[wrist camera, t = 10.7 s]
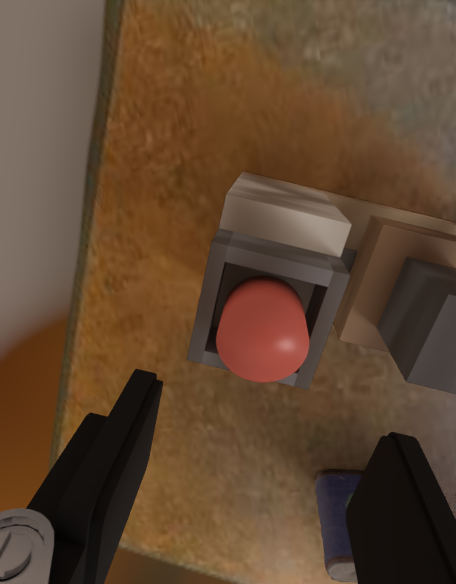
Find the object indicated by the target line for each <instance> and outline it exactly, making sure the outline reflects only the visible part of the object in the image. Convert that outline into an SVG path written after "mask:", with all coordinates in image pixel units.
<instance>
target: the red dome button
mask: <svg viewBox="0 0 456 584" xmlns="http://www.w3.org/2000/svg"><path fill="white" fill-rule="evenodd" d="M216 345H217V350H218V353H219V356H220V358H221V360H222V361H223V363H224V364H225V365H226V366H227V367H228V368H229V369H230V370H231V371H232V372H233V373H235V374H236V375H238V376H240V377H242V378H244V379H247V380H250V381H255V382H273V381H278V380H281V379H283V378H286V377H288V376H289V375H291V374H292V373H294V372H295V371H296V370H297V369H298V368H299V367H300V366H301V365H302V364H303V362H304V360H305V359H306V356H307V354H308V350H309V335H308V330H307V324H306V319H305V314H304V309H303V303H302V300H301V298H300V296H299V294H298V293H297V291H296V290H295V289H294V288H293V287H292V286H291V285H290V284H289V283H287V282H285V281H284V280H282V279H279V278H276V277H273V276H265V275H262V276H254V277H250V278H247V279H245V280H243V281H241V282H240V283H238V284H237V285H236V286H235V287H234V288H233V289H232V290H231V291H230V293H229V294H228V296H227V298H226V301H225V305H224V308H223V312H222V316H221V320H220V323H219V327H218V331H217V336H216Z"/></svg>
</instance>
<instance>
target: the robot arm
mask: <svg viewBox="0 0 456 584" xmlns="http://www.w3.org/2000/svg"><path fill="white" fill-rule="evenodd" d="M156 379H157V374H156V373H151V372H147V371H143V370H139V369H135V371H134V372H133V374H132V376H131V377H130V379H129V381H128V383H127V384H126V386H125V388H124V390H123V391H122V393H121V395H120V397H119V398H118V400H117V402H116V404H115V405H114V407H113V409H112V411H111V412H110V414H109V416H108V417H106V416H102V415H98V414H94V413H89V414H88V415H87V416H86V417H85V419H84V420H83V422H82V423H81V425H80V426H79V428H78V429H77V431H76V432H75V434H74V435H73V437H72V438H71V440H70V442H69V443H68V445H67V446H66V448H65V449H64V451H63V452H62V454H61V455H60V457H59V458H58V460H57V462H56V463H55V465H54V466H53V468H52V469H51V471H50V472H49V474H48V475H47V477H46V478H45V480H44V482H43V483H42V485H41V486H40V488H39V489H38V491H37V492H36V494H35V495H34V497H33V499H32V500H31V502H30V503H29V505H28V506H27V508H26V509H19V508H17V509H12V510H7V511H3V512H0V584H104V582H105V579H106V576H107V574H108V571H109V568H110V565H111V563H112V560H113V557H114V555H115V552H116V549H117V547H118V544H119V541H120V539H121V536H122V533H123V530H124V528H125V525H126V522H127V520H128V517H129V514H130V511H131V509H132V506H133V503H134V501H135V498H136V495H137V492H138V490H139V487H140V484H141V482H142V479H143V476H144V473H145V471H146V467H147V464H148V460H149V456H150V451H151V445H152V440H153V435H154V429H155V424H156V419H157V413H158V408H159V403H160V397H161V392H162V387H163V381H160V380H156ZM346 525H347V530H348V535H349V540H350V545H351V550H352V555H353V561H354V566H355V571H356V576H357V581H358V584H456V519H455V517H454V515H453V513H452V511H451V509H450V507H449V505H448V503H447V500H446V498H445V496H444V494H443V492H442V490H441V488H440V486H439V484H438V482H437V480H436V478H435V476H434V473H433V471H432V469H431V467H430V465H429V463H428V461H427V459H426V457H425V455H424V453H423V451H422V449H421V446H420V444H419V442H418V441H417V439H416V438H414V437H412V436H408V435H403V434H399V433H395V432H391V433H389V434H388V436H382V437H381V438H380V440H379V442H378V444H377V446H376V448H375V450H374V452H373V454H372V456H371V458H370V460H369V463H368V465H367V467H366V469H365V471H364V473H363V475H362V477H361V479H360V481H359V483H358V485H357V487H356V489H355V491H354V493H353V495H352V497H351V499H350V502H349V504H348V506H347V509H346Z"/></svg>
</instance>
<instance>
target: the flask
mask: <svg viewBox="0 0 456 584" xmlns="http://www.w3.org/2000/svg"><path fill="white" fill-rule="evenodd" d="M363 473H364V471H363V472H362V471H359V470H357V471H356V470H335V469H332V470H328V471H322V472H319V473H318V474H317V476H316V478H317V479H316V480H315V489H316V495H317V502H318V513H319V517H320V524H321V532H322V539H323V546H324V555H325V567H326V570H327V572H328V574H329V575H330V576H331V578H332V579H333V580H336V581H340V582H358V581H357V576H356V571H355V566H354V561H353V555H352V550H351V545H350V540H349V535H348V530H347V525H346V509H347V506H348V504H349V502H350V499H351V497H352V495H353V493H354V491H355V489H356V487H357V485H358V483H359V481H360V479H361V477H362V475H363Z"/></svg>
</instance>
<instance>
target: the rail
mask: <svg viewBox="0 0 456 584" xmlns="http://www.w3.org/2000/svg"><path fill="white" fill-rule="evenodd" d="M371 215H374V216H378V217H382V218H386V219H391V220H395V221H399V222H403V223H407V224H411V225H415V226H420V227H424V228H428V229H432V230H436V231H440V232H444V233H449V234H453V235H456V223H455V222H451V221H447V220H443V219H439V218H434V217H430V216H426V215H422V214H418V213H414V212H410V211H405V210H401V209H397V208H393V207H389V206H385V205H381V204H376V203H372V202H368V201H364V200H360V199H356V198H351V197H347V196H343V195H339V194H335V193H331V192H327V191H322V190H318V189H314V188H310V187H306V186H302V185H298V184H293V183H289V182H285V181H281V180H277V179H273V178H269V177H264V176H260V175H256V174H252V173H248V172H244V171H243V172H242V173H241V174H240V176H239V177H238V179H237V180H236V181H235V183H234V184H233V186H232V187H231V188H230V190H229V191H228V192H227V194H226V198H225V203H224V207H223V212H222V217H221V221H220V226H219V229H218V231H217V233H216V235H215V236H214V238H213V240H212V242H211V247H210V252H209V257H208V261H207V266H206V271H205V276H204V280H203V285H202V290H201V295H200V299H199V304H198V309H197V314H196V318H195V323H194V328H193V333H192V337H191V342H190V347H189V352H188V356H187V360H189V361H193V362H197V363H201V364H205V365H209V366H213V367H217V368H221V369H225V370H230V369H229V368H228V367H227V366H226V365H225V364H224V363H223V361H222V360H221V358H220V356H219V353H218V350H217V345H216V336H217V331H218V327H219V323H220V320H221V316H222V312H223V308H224V305H225V301H226V298H227V296H228V294H229V293H230V291H231V290H232V289H233V288H234V287H235V286H236V285H237V284H238V283H240V282H241V281H243V280H245V279H247V278H250V277H254V276H262V275H265V276H273V277H276V278H279V279H282V280H284V281H285V282H287V283H289V284H290V285H291V286H292V287H293V288H294V289H295V290H296V291H297V293H298V294H299V296H300V298H301V300H302V303H303V309H304V314H305V319H306V324H307V330H308V335H309V350H308V354H307V356H306V359H305V360H304V362H303V364H302V365H301V366H300V367H299V368H298V369H297V370H296V371H295V372H294V373H292V374H291V375H289V376H288V377H286V378H283V379H281V380H278V381H274V382H278V383H282V384H287V385H291V386H295V387H299V388H303V389H307V390H308V389H309V387H310V384H311V381H312V378H313V376H314V373H315V370H316V368H317V365H318V362H319V359H320V357H321V354H322V351H323V349H324V346H325V343H326V340H327V338H328V335H329V332H330V330H331V327H332V324H333V321H334V319H335V316H336V313H337V311H338V308H339V305H340V302H341V300H342V297H343V294H344V292H345V289H346V286H347V283H348V281H349V278H350V272H351V269H352V266H353V263H354V261H355V258H356V255H357V252H358V250H359V247H360V244H361V242H362V239H363V236H364V233H365V231H366V228H367V225H368V222H369V220H370V217H371ZM230 371H231V370H230Z"/></svg>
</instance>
